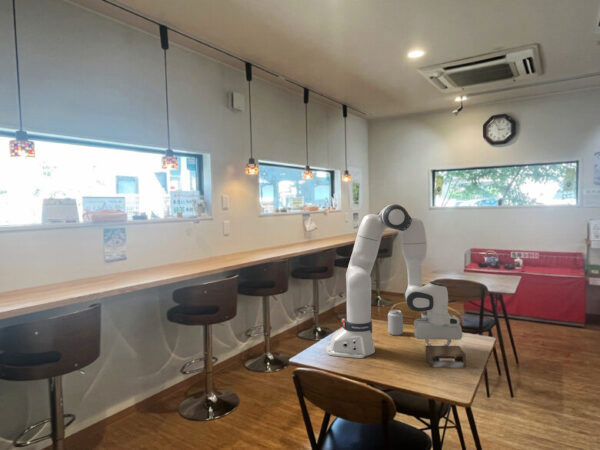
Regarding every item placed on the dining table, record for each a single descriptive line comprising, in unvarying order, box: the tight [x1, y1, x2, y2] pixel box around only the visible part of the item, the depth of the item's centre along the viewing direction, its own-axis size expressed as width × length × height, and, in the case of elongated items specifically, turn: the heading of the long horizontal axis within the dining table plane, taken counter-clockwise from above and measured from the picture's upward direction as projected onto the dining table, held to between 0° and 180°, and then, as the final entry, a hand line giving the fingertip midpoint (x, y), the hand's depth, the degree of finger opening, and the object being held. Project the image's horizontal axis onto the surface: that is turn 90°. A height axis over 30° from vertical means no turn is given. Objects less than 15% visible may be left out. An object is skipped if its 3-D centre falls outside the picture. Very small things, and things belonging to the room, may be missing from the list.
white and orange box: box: [431, 344, 456, 361], centre depth 165 cm, size 6×16×3 cm, turn 174°
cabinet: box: [424, 345, 467, 369], centre depth 160 cm, size 14×10×6 cm
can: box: [387, 309, 404, 337], centre depth 198 cm, size 8×8×12 cm
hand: (437, 348), depth 172 cm, fingers closed on white and orange box, 6 cm apart
